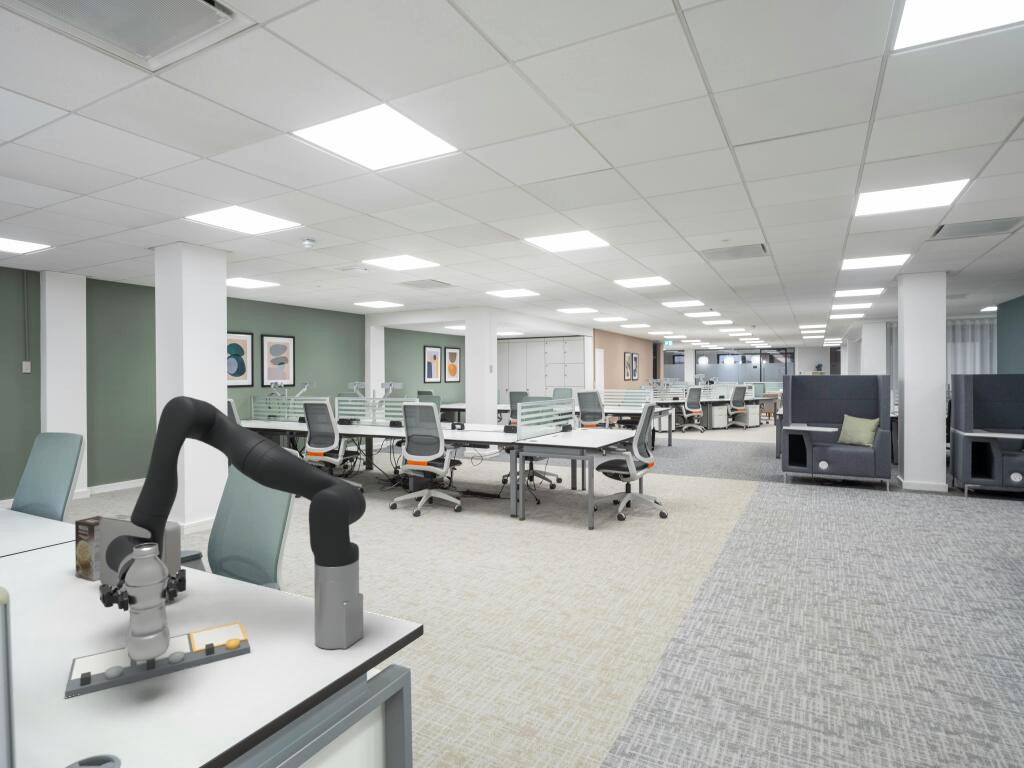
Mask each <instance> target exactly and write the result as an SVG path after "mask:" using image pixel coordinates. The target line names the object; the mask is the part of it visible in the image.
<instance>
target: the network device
mask: <svg viewBox="0 0 1024 768" xmlns="http://www.w3.org/2000/svg"><path fill="white" fill-rule="evenodd" d="M101 517H102V518H101V519H100V521H99V531H100V581H99V582H100V585H103V584H108V586H109V585H112V587H114V586H117V584H118V573H117V572H115V571H113V570H112V569H110V568H109V567H108V565H107V563H106V559H105V555H106V550H107V547H108V545H109V544H110V543H111V541H112V540H113V539H115V538H116V537H118V536H121V535H131V536H137V537H144V538H150V536H151V533H150V532H149V531H148V530H146V529H144V528H141V527H138V526H136V525H134V524H133V523H132V522H131V520H130V519H131V515H129V514H122V513H115V514H111V515H106V516H101ZM181 537H182V536H181V525H180V523H179V522H178V521H173V520H167V522H166V526H165V531H164V538H163V553H162V558H161V561H162V562H163V563H164V564H165V565H166V566H167V569H168V572H169V574H170V575H175V574H176V572H179V570H181V569H182V561H181V560H182V554H181V553H182V552H181V551H182V549H181V548H182V544H181V543H182V542H181V541H182V540H181ZM178 593H180V592H179V590H178V591H177V594H178ZM168 601H169V600H168V597H167V595H166V602H168Z"/></svg>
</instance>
